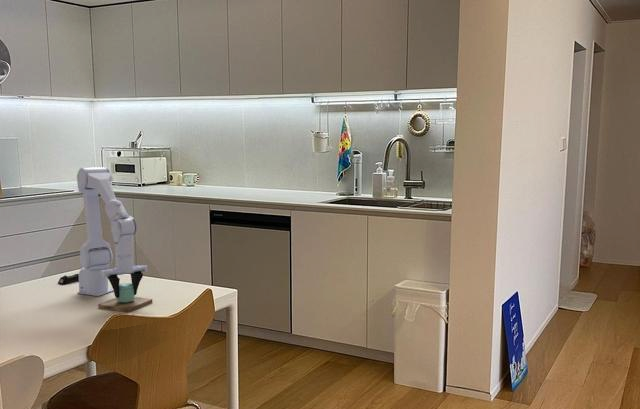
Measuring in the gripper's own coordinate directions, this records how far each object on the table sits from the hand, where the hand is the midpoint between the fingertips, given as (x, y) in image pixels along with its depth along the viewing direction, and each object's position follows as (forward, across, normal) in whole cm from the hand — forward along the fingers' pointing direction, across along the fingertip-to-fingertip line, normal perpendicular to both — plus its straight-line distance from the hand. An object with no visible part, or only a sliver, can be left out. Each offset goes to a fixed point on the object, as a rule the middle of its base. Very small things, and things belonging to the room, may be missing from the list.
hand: (125, 295), depth 197 cm
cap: (+2, 0, 0) cm, 2 cm away
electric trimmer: (+4, -3, +42) cm, 42 cm away
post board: (+3, 0, 0) cm, 3 cm away
